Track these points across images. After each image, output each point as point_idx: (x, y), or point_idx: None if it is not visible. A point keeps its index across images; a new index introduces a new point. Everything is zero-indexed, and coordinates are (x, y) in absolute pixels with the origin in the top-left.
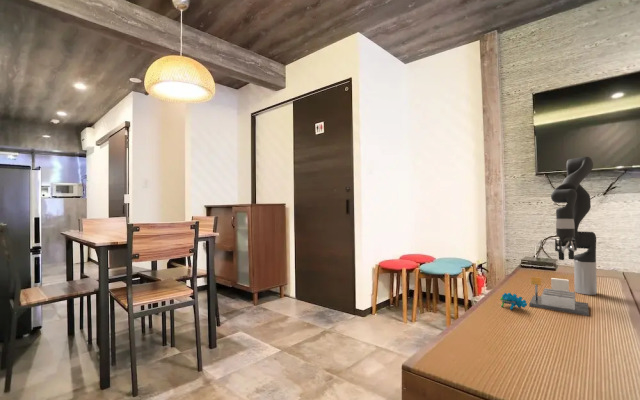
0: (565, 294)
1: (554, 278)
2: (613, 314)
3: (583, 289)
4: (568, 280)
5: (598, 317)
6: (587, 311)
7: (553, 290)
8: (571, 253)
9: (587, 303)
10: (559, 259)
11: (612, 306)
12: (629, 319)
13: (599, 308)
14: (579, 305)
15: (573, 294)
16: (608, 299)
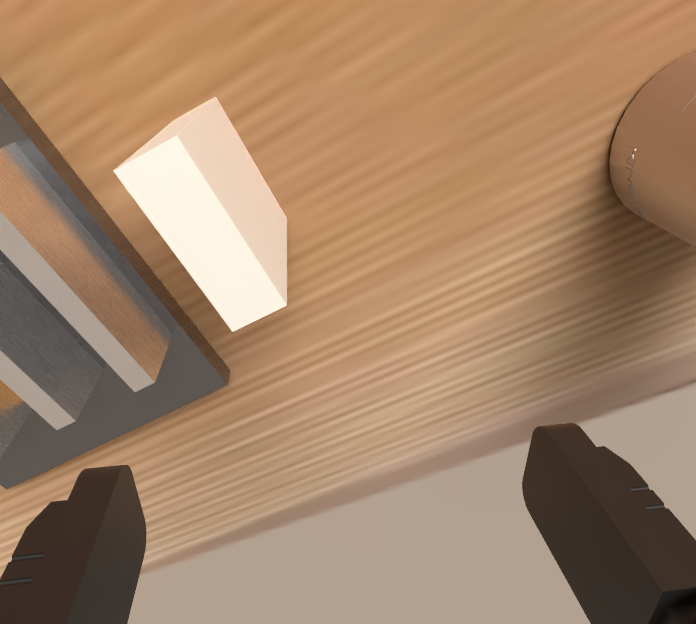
0: (10, 378)
1: (179, 182)
2: (206, 489)
3: (634, 177)
4: (242, 325)
5: (56, 495)
6: (20, 477)
7: (12, 257)
8: (608, 606)
9: (217, 387)
10: (89, 478)
11: (389, 414)
12: (195, 542)
13: (257, 413)
14: (101, 396)
15: (57, 419)
16: (576, 322)
